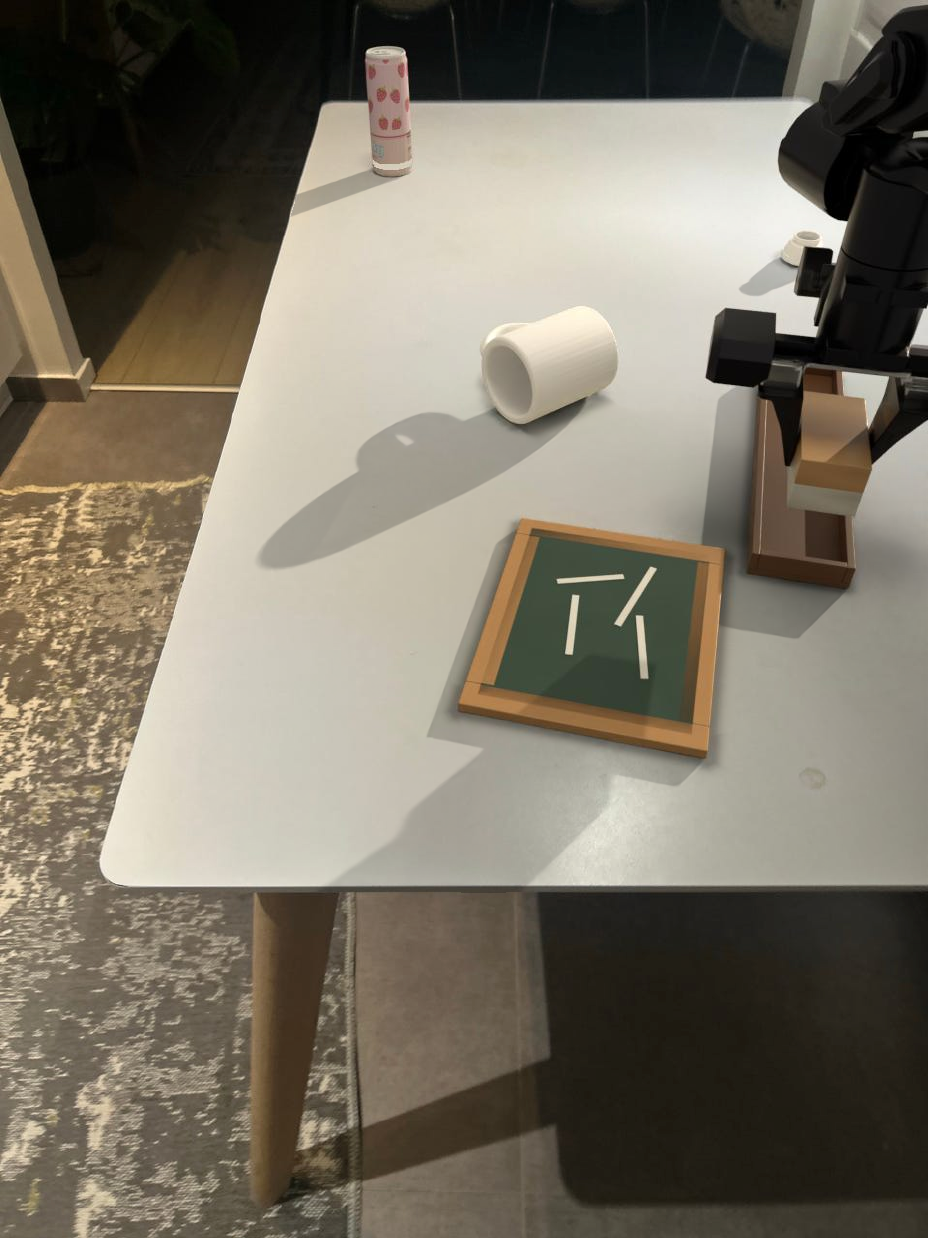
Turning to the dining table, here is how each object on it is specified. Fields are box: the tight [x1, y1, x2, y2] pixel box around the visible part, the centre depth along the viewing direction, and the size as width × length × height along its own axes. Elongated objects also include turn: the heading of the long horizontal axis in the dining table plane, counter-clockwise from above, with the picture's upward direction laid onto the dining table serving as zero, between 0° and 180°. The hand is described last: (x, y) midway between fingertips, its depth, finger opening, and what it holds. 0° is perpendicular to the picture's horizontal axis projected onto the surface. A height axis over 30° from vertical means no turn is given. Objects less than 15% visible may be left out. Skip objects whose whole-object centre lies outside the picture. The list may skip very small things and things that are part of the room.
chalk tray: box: [746, 368, 857, 589], centre depth 79 cm, size 7×31×2 cm, turn 166°
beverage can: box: [364, 45, 414, 178], centre depth 127 cm, size 6×6×15 cm
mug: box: [479, 305, 619, 425], centre depth 86 cm, size 12×10×8 cm
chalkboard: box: [457, 517, 726, 759], centre depth 66 cm, size 16×20×1 cm
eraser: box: [787, 391, 873, 518], centre depth 65 cm, size 9×4×4 cm, turn 166°
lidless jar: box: [780, 230, 824, 267], centre depth 108 cm, size 5×3×5 cm
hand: (822, 467), depth 66 cm, fingers closed on eraser, 4 cm apart
